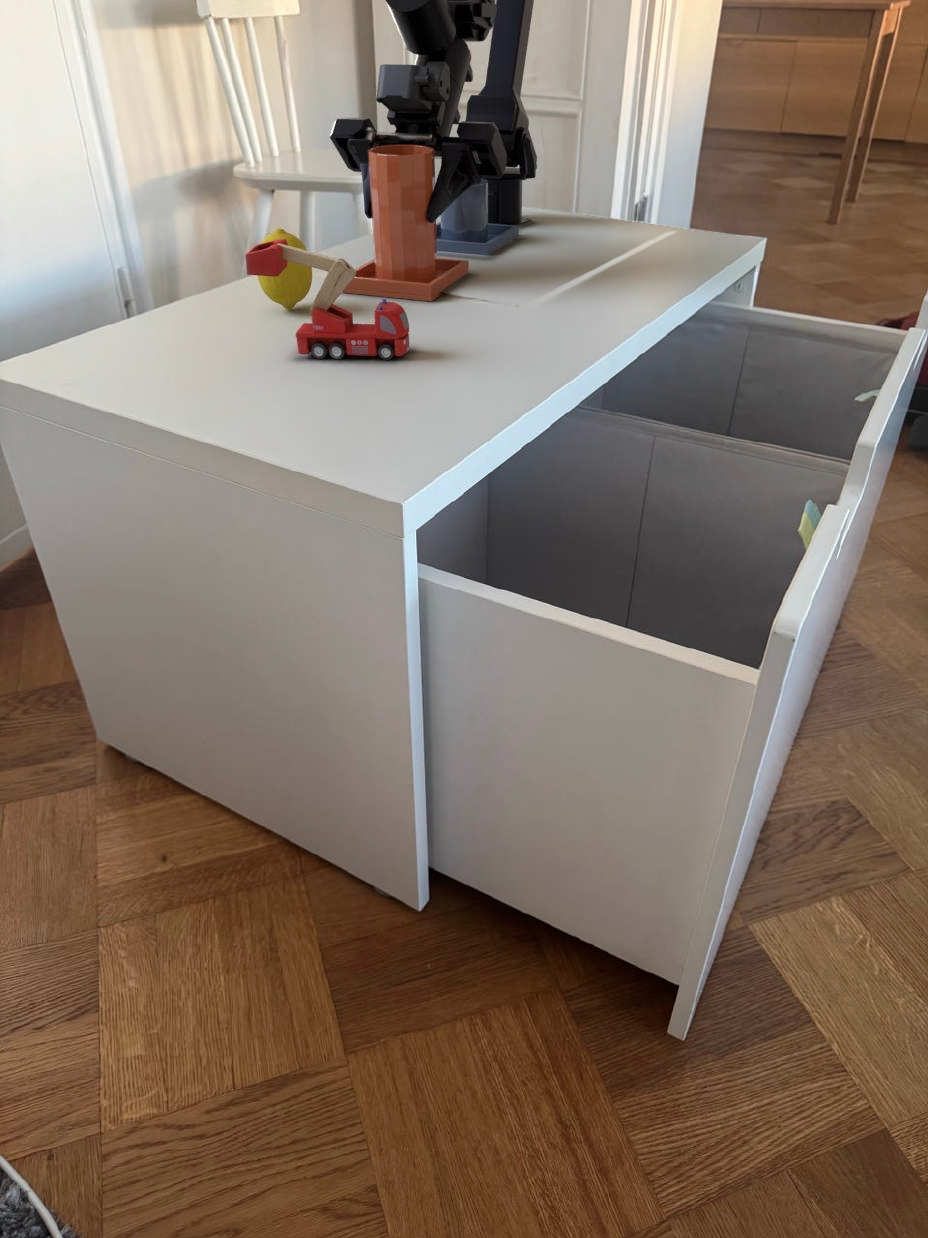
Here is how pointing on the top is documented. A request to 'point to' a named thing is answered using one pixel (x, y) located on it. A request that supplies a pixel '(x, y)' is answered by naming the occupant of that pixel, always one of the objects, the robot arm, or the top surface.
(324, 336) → the toy fire truck
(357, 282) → the terracotta tray
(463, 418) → the top surface
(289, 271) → the lemon
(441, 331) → the top surface
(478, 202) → the blue-grey drinking cup
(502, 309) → the top surface
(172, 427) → the top surface
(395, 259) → the terracotta cup
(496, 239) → the slate tray
